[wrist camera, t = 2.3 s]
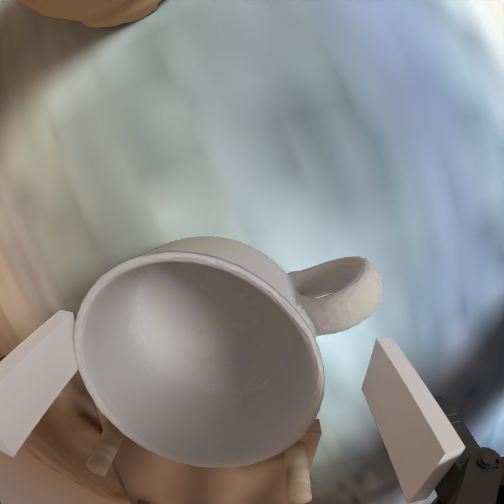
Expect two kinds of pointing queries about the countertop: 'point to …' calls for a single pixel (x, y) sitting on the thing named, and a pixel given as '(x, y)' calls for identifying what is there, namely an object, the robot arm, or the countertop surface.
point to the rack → (205, 473)
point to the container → (94, 10)
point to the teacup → (215, 347)
